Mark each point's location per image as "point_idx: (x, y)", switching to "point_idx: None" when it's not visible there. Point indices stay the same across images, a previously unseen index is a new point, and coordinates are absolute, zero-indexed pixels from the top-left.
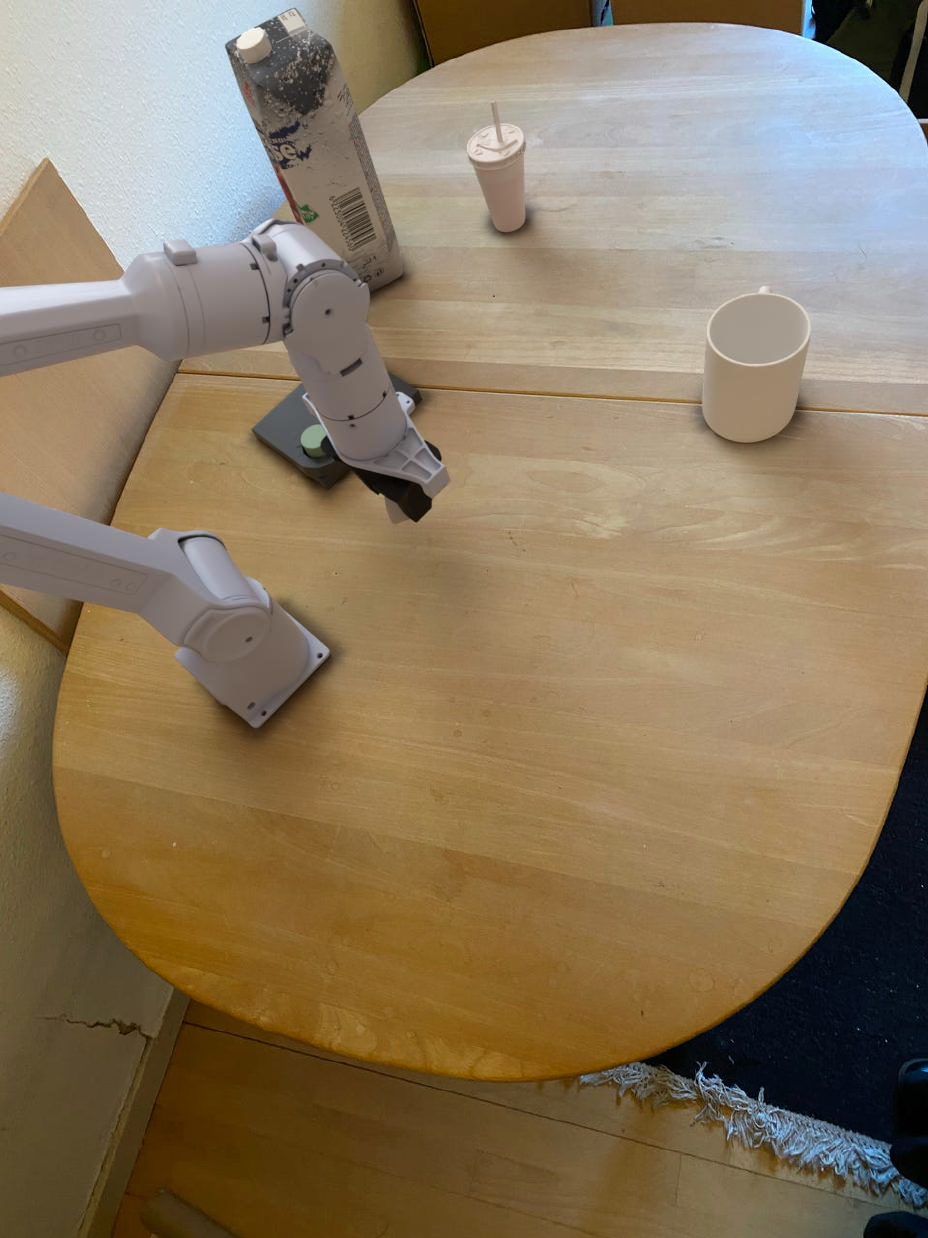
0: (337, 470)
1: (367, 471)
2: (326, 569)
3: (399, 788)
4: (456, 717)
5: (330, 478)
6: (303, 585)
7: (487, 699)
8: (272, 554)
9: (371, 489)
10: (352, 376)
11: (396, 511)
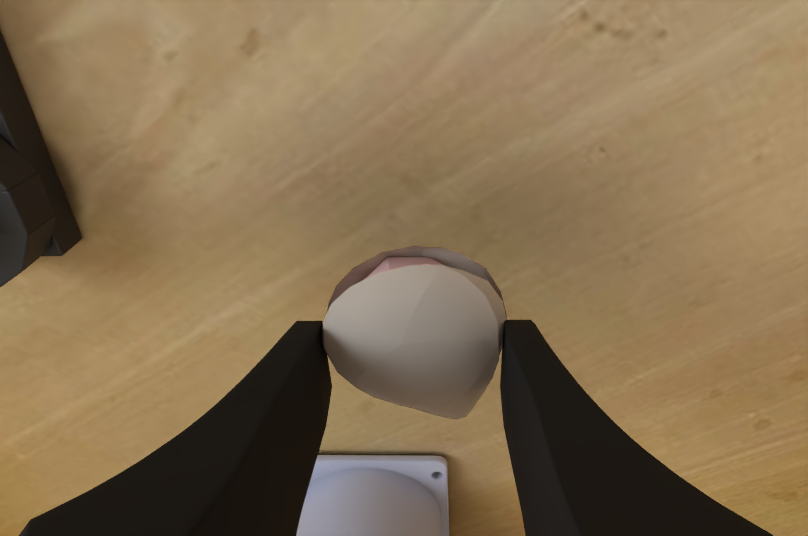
0: (51, 216)
1: (297, 485)
2: None
3: None
4: (743, 409)
5: (60, 231)
6: None
7: (785, 358)
8: (166, 399)
9: (323, 429)
10: None
11: (449, 409)
